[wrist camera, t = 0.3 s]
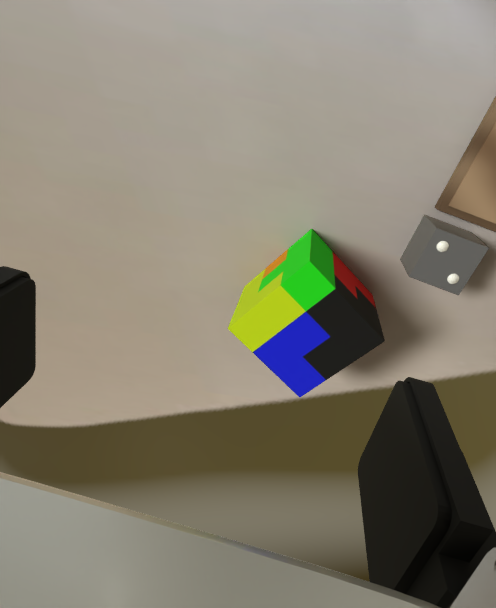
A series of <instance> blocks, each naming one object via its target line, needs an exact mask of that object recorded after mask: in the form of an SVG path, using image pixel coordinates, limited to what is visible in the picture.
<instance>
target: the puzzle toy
mask: <svg viewBox="0 0 496 608" xmlns="http://www.w3.org/2000/svg"><path fill="white" fill-rule="evenodd" d="M228 329H229V330H230V331H231V332H232V333H233V334H234V335H235V336H236V337H237V338H238V339H239V340H240V341H241V342H242V343H243V344H244V345H245V346H246V347H247V348H249V349H250V350H251V351H252V352H253V353H254V354H255V355H256V356H257V357H258V358H259V359H260V360H261V361H262V362H263V363H264V364H265V365H266V366H267V367H268V368H269V369H270V370H272V371H273V372H274V373H275V374H276V375H277V376H278V377H279V378H280V379H281V380H282V381H283V382H284V383H285V384H286V385H287V386H288V387H289V388H290V389H291V390H292V391H293V392H295V393H296V394H297V395H298V396H299V397H301V396H303V395H304V394H306V393H307V392H309V391H310V390H312V389H313V388H315V387H316V386H318V385H319V384H321V383H322V382H324V381H325V380H327V379H328V378H330V377H331V376H333V375H334V374H336V373H337V372H339V371H340V370H342V369H343V368H345V367H346V366H348V365H349V364H351V363H353V362H354V361H356V360H357V359H359V358H360V357H362V356H363V355H365V354H366V353H368V352H369V351H371V350H372V349H374V348H375V347H377V346H378V345H380V344H381V343H383V342H384V341H385V340H384V336H383V333H382V329H381V325H380V321H379V318H378V314H377V310H376V306H375V302H374V299H373V295H372V294H371V293H370V292H369V291H368V290H367V288H366V287H365V286H364V285H363V284H362V283H361V282H360V281H359V280H358V279H357V278H356V276H355V275H354V274H353V273H352V272H351V271H350V270H349V269H348V268H347V267H346V265H345V264H344V263H343V262H342V261H341V260H340V259H339V258H338V257H337V256H336V255H335V253H334V252H333V251H332V250H331V249H330V248H329V247H328V246H327V245H326V244H325V243H324V241H323V240H322V239H321V238H320V237H319V236H318V235H317V234H316V233H315V232H314V231H313V229H311V230H310V231H309V232H307V233H306V234H305V235H304V236H303V237H302V238H300V239H299V240H298V241H297V242H296V243H295V244H293V245H292V246H291V247H290V248H289V249H288V250H286V251H285V252H284V253H283V254H282V255H281V256H280V257H278V258H277V259H276V260H275V261H274V262H273V263H271V264H270V265H269V266H268V267H267V268H266V269H264V270H263V271H262V272H261V273H260V274H259V275H257V276H256V277H255V278H254V279H253V280H252V281H251V282H249V283H248V284H247V285H246V286H245V287H244V289H243V292H242V294H241V297H240V299H239V302H238V304H237V307H236V309H235V312H234V314H233V317H232V319H231V322H230V324H229V327H228Z"/></svg>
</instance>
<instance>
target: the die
mask: <svg viewBox="0 0 496 608" xmlns="http://www.w3.org/2000/svg"><path fill="white" fill-rule="evenodd" d="M488 249H489V247H487V246H486V245H485V244H484V243H483V242H482V241H481V240H479V239H478V238H477V237H476V236H475V235H474V234H473V233H472V232H469V231H466V230H464V229H461V228H458V227H456V226H453V225H450V224H448V223H445V222H443V221H440V220H437V219H435V218H432V217H429V216H427V215H424V216H423V218H422V220H421V222H420V224H419V226H418V227H417V229H416V231H415V233H414V235H413V237H412V238H411V240H410V242H409V244H408V246H407V248H406V250H405V251H404V253H403V255H402V257H401V259H400V260H401V262H402V264H403V266H404V268H405V270H406V272H407V274H408V276H409V277H411V278H414V279H417V280H419V281H422V282H424V283H427V284H430V285H432V286H435V287H438V288H440V289H443V290H446V291H448V292H451V293H454V294H456V295H459V294H460V292H461V291H462V289H463V288H464V286H465V285H466V283H467V281H468V280H469V278H470V277H471V275H472V274H473V272H474V271H475V269H476V267H477V266H478V264H479V263H480V261H481V260H482V258H483V257H484V255H485V253H486V252H487V250H488Z"/></svg>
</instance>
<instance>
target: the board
mask: <svg viewBox="0 0 496 608" xmlns="http://www.w3.org/2000/svg"><path fill="white" fill-rule="evenodd" d="M435 208H436V209H437V210H440V211H443V212H445V213H448V214H450V215H453V216H456V217H458V218H461V219H464V220H466V221H469V222H471V223H474V224H477V225H479V226H482V227H485V228H487V229H490V230H492V231H495V232H496V97H495V98H494V100H493V102H492V104H491V106H490V107H489V109H488V111H487V113H486V115H485V117H484V118H483V120H482V122H481V124H480V126H479V127H478V129H477V131H476V133H475V135H474V136H473V138H472V140H471V142H470V144H469V146H468V147H467V149H466V151H465V153H464V155H463V156H462V158H461V160H460V162H459V164H458V165H457V167H456V169H455V171H454V173H453V175H452V176H451V178H450V180H449V182H448V184H447V185H446V187H445V189H444V191H443V193H442V194H441V196H440V198H439V200H438V202H437V204H436V205H435Z"/></svg>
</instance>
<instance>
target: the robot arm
mask: <svg viewBox="0 0 496 608" xmlns="http://www.w3.org/2000/svg"><path fill="white" fill-rule="evenodd" d="M35 306H36V287H35V282H34V281H33V280H31V279H30V276H29V274H28V273H27V272H24V271H20V270H16V269H13V268H9V267H5V266H3V267H0V408H1V407H2V406H3V405H4V404H5V403H6V402H7V401H8V400H9V399H10V398H11V397H12V396H13V395H14V394H15V393H16V392H17V391H18V390H19V389H21V388H22V387H23V386H24V385H25V384H26V383H27V382H28V381H29V380H30V379H31V377H32V376H33V373H34V371H35V308H36V307H35ZM358 478H359V487H360V496H361V506H362V515H363V523H364V533H365V542H366V552H367V560H368V570H369V579H370V582H368V581H365V580H361V579H358V578H355V577H352V576H349V575H345V574H343V573H339V572H336V571H333V570H330V569H327V568H324V567H320V566H317V565H314V564H311V563H308V562H304V561H301V560H298V559H294V558H291V557H288V556H284V555H281V554H278V553H274V552H271V551H268V550H264V549H261V548H258V547H254V546H251V545H247V544H244V543H241V542H237V541H234V540H231V539H227V538H224V537H221V536H217V535H214V534H210V533H207V532H204V531H200V530H197V529H194V528H190V527H187V526H184V525H181V524H177V523H173V522H170V521H167V520H164V519H160V518H156V517H153V516H150V515H146V514H143V513H140V512H136V511H133V510H129V509H126V508H122V507H119V506H115V505H112V504H109V503H106V502H102V501H99V500H95V499H92V498H88V497H85V496H81V495H78V494H74V493H71V492H67V491H64V490H61V489H57V488H54V487H51V486H47V485H44V484H40V483H37V482H33V481H30V480H26V479H23V478H19V477H15V476H12V475H9V474H5V473H2V472H0V608H496V532H495V529H494V527H493V525H492V522H491V520H490V517H489V515H488V513H487V510H486V508H485V505H484V503H483V501H482V498H481V496H480V493H479V491H478V488H477V486H476V484H475V481H474V479H473V477H472V474H471V472H470V469H469V467H468V464H467V462H466V460H465V457H464V455H463V453H462V451H461V449H460V447H459V445H458V442H457V440H456V438H455V435H454V433H453V430H452V428H451V426H450V423H449V421H448V418H447V416H446V414H445V412H444V409H443V406H442V404H441V401H440V399H439V397H438V394H437V392H436V389H435V387H434V385H433V384H432V383H429V382H425V381H422V380H418V379H414V378H411V377H408V378H406V379H405V381H404V382H403V381H398V382H397V383H396V384H395V386H394V388H393V390H392V393H391V395H390V397H389V399H388V401H387V403H386V405H385V407H384V409H383V412H382V414H381V416H380V418H379V420H378V422H377V424H376V426H375V428H374V431H373V433H372V435H371V437H370V439H369V441H368V443H367V445H366V447H365V450H364V452H363V454H362V456H361V458H360V462H359V466H358Z"/></svg>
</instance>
